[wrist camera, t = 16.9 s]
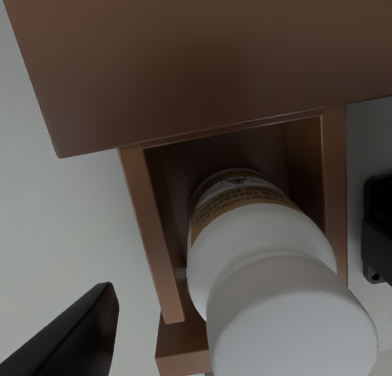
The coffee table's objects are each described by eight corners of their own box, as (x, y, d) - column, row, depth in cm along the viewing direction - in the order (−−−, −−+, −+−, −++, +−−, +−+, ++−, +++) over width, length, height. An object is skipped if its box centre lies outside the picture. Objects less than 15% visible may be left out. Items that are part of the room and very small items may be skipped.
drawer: (319, 332, 17) (368, 420, 12) (183, 354, 17) (181, 448, 12) (306, 85, 12) (375, 78, 8) (122, 120, 13) (85, 133, 8)
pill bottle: (273, 155, 12) (405, 243, 5) (286, 241, 13) (404, 414, 6) (177, 177, 12) (159, 296, 5) (199, 260, 14) (211, 450, 6)
